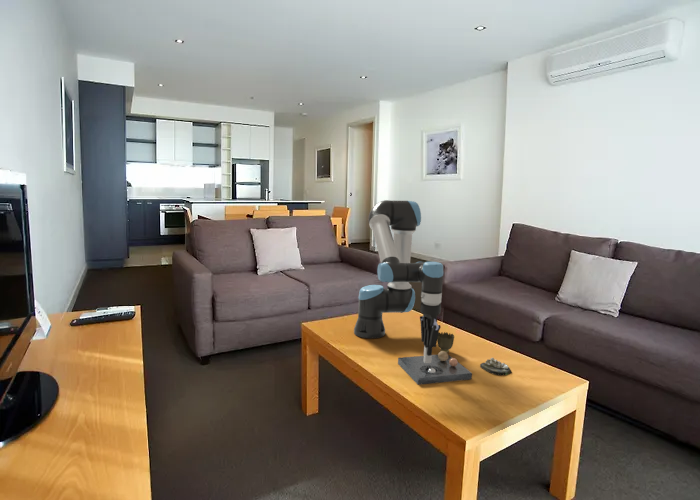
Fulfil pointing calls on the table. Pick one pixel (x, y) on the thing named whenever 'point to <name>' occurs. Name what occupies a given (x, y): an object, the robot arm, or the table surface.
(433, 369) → the steel ball
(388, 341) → the table surface
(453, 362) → the terracotta ball
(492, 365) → the grey rocky sculpture
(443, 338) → the cup
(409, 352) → the table surface
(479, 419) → the table surface
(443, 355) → the beech ball
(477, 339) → the table surface
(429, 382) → the race plate
